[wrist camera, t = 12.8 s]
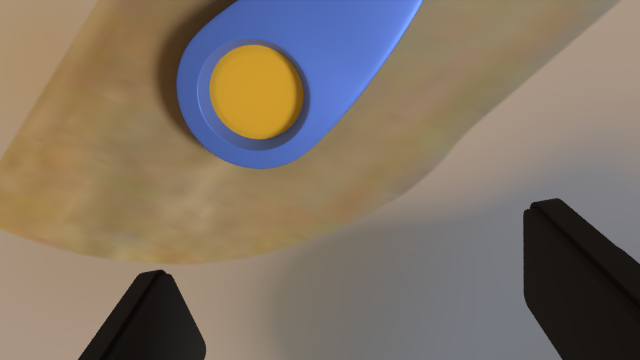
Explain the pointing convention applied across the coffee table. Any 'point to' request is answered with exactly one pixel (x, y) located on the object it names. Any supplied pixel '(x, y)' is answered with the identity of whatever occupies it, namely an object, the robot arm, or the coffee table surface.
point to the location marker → (283, 73)
